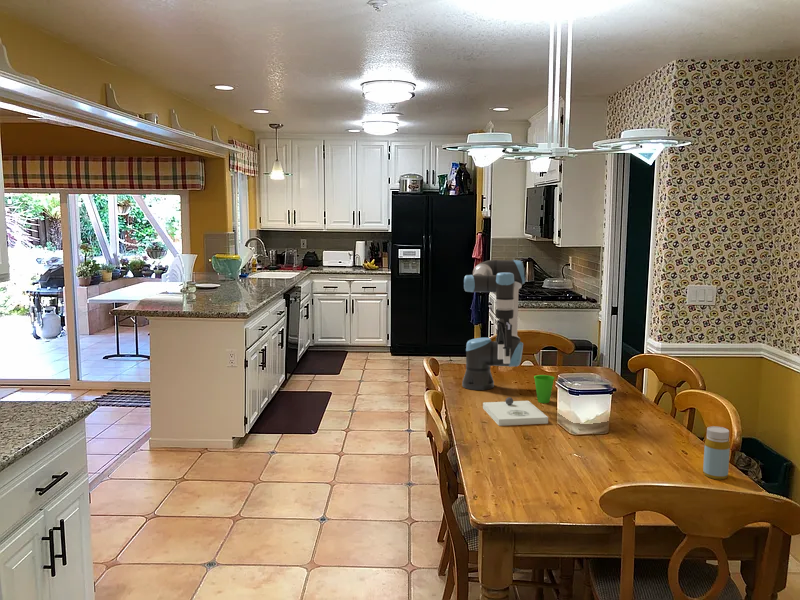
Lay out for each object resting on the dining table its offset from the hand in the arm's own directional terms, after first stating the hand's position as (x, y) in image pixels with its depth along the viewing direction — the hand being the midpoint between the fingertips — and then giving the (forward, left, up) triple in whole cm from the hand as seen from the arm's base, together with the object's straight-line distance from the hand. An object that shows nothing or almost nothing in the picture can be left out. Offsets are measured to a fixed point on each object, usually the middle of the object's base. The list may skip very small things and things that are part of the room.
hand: (503, 361), depth 280 cm
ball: (+9, 0, -15) cm, 18 cm away
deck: (+16, 0, -19) cm, 25 cm away
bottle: (+86, +43, -19) cm, 98 cm away
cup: (-2, +19, -19) cm, 27 cm away
